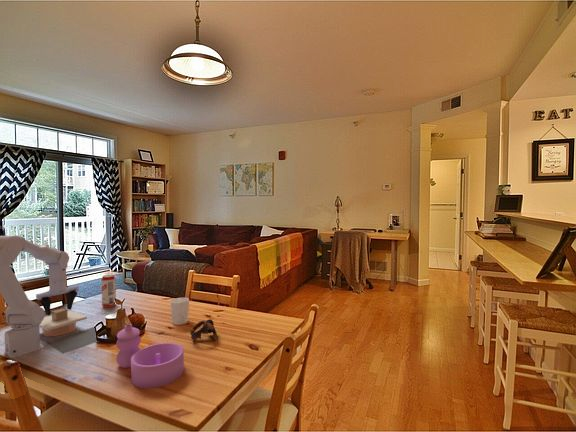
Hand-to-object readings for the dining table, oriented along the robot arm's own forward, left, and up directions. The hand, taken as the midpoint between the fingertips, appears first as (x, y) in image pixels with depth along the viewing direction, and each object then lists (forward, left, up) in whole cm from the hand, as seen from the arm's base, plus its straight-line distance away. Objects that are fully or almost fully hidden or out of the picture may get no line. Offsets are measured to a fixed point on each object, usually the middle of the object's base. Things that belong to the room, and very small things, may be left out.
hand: (59, 311), depth 127 cm
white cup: (+35, -33, -9) cm, 49 cm away
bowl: (0, 0, -8) cm, 8 cm away
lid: (0, 0, -4) cm, 4 cm away
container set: (+5, -58, -9) cm, 59 cm away
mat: (+2, -16, -8) cm, 18 cm away
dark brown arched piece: (+31, -56, -9) cm, 64 cm away
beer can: (+27, +16, -9) cm, 33 cm away
